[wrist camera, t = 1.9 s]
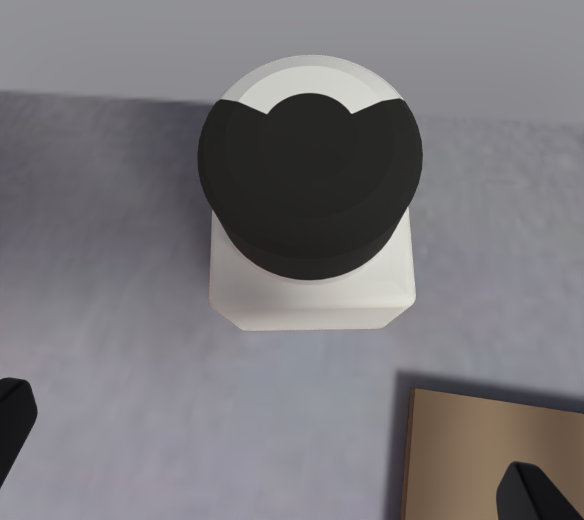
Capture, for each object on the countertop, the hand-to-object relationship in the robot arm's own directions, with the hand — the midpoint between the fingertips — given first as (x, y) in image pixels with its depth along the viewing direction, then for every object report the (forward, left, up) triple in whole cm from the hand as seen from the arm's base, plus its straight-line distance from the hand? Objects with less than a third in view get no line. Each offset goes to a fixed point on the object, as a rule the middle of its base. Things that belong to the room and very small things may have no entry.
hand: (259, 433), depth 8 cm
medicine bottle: (0, +7, -13) cm, 15 cm away
